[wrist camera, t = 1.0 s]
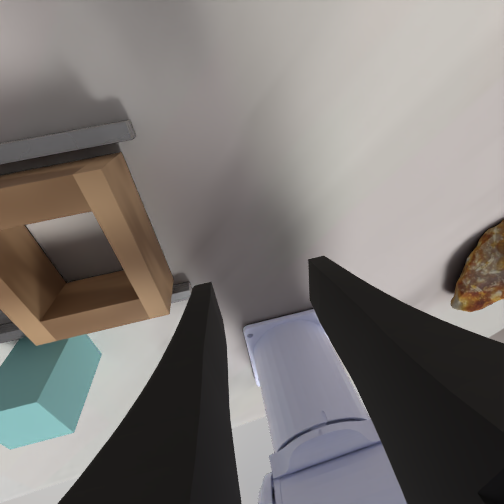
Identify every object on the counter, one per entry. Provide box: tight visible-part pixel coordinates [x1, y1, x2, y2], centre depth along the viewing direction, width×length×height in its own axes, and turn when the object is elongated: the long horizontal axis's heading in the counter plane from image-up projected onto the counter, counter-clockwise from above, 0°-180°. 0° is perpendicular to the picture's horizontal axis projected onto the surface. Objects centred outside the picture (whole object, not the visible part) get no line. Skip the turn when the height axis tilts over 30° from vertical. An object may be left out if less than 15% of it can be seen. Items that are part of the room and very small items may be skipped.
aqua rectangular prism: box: [0, 334, 102, 449], centre depth 18 cm, size 4×4×6 cm
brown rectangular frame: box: [0, 152, 174, 346], centre depth 15 cm, size 9×8×4 cm
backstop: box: [0, 120, 192, 343], centre depth 15 cm, size 12×16×4 cm
